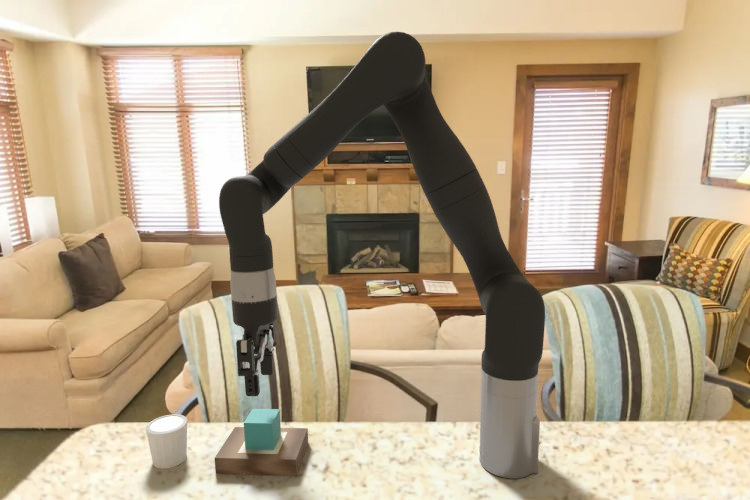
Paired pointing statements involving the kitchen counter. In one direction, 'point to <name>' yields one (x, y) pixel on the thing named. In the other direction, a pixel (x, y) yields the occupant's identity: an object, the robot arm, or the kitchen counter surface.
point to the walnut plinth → (263, 454)
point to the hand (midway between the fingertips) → (260, 384)
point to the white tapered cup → (168, 440)
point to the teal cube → (262, 429)
